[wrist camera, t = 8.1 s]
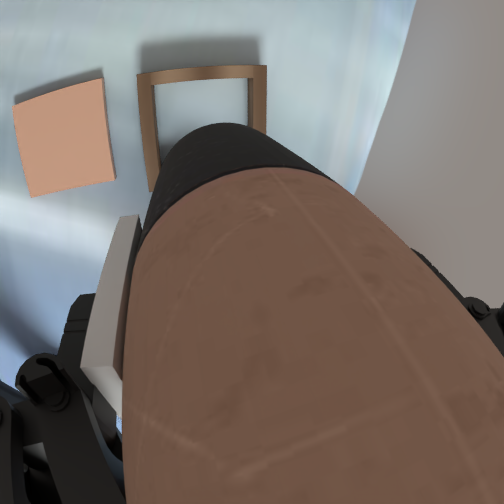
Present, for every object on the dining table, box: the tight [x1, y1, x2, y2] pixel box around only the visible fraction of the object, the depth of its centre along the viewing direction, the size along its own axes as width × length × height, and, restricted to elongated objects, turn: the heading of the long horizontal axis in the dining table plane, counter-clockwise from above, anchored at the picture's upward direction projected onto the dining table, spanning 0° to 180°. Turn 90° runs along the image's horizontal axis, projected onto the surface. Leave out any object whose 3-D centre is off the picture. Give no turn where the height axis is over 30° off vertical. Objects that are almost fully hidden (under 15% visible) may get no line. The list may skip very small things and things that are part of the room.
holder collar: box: [137, 65, 267, 192], centre depth 31 cm, size 14×14×3 cm
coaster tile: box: [12, 78, 116, 198], centre depth 29 cm, size 13×13×1 cm
